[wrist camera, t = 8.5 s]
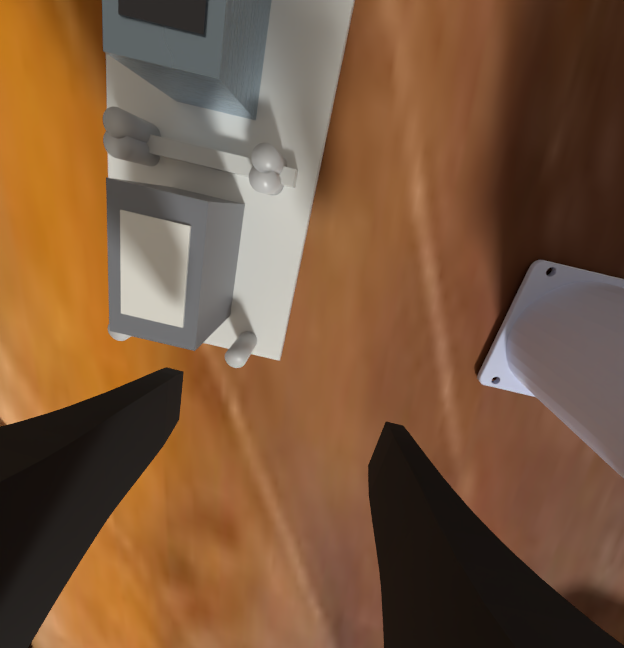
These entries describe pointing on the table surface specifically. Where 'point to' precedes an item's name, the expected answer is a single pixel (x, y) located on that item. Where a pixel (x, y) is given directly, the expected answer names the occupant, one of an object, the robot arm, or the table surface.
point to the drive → (193, 48)
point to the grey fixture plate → (220, 193)
